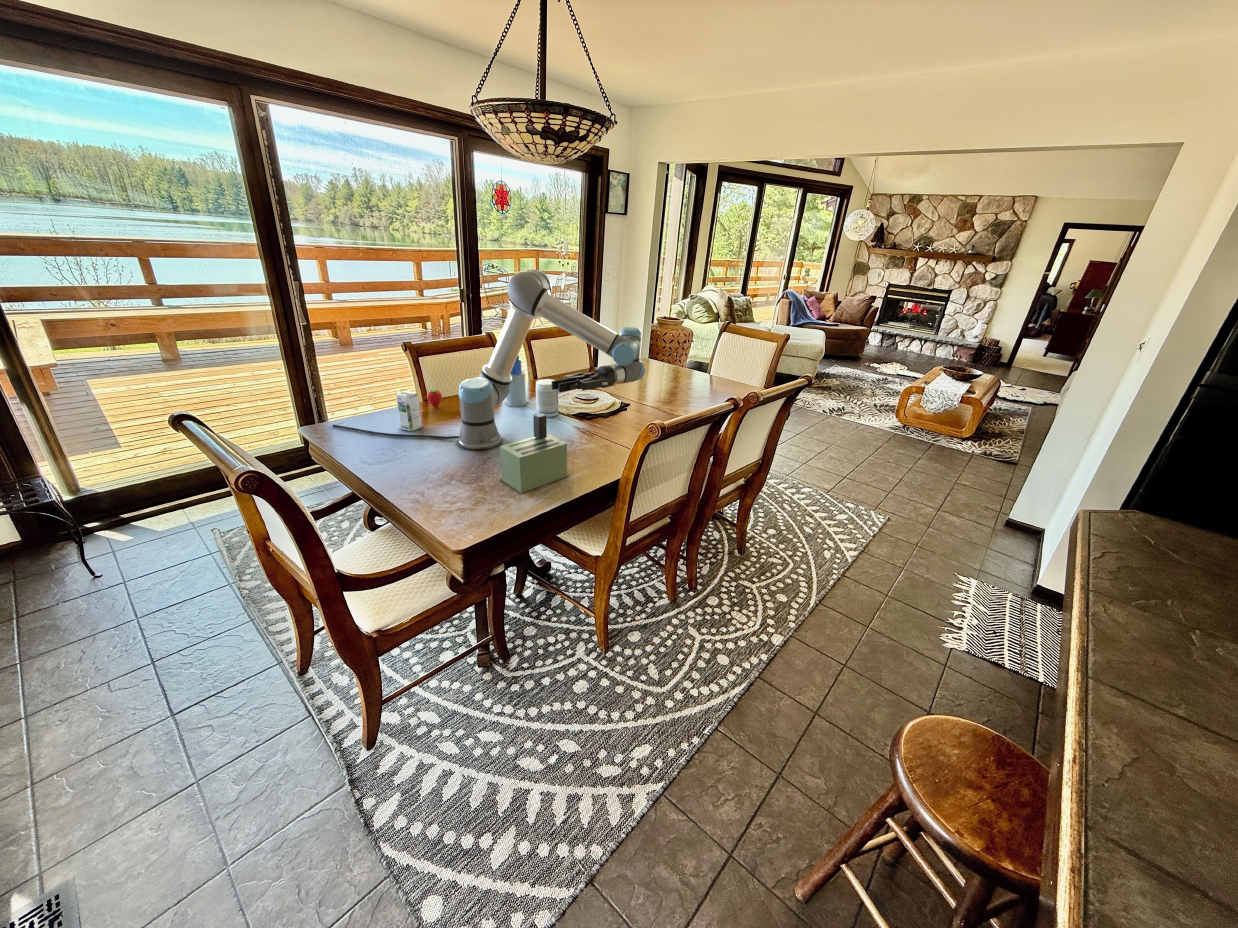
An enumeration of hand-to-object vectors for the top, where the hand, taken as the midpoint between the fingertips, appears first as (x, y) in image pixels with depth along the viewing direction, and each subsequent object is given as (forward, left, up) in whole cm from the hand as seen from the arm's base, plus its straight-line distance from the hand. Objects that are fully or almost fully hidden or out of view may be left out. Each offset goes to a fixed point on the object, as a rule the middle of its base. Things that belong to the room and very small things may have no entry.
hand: (555, 386), depth 154 cm
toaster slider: (-2, -6, -16) cm, 17 cm away
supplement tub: (-30, +43, -28) cm, 60 cm away
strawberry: (-76, +24, -28) cm, 85 cm away
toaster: (-1, -12, -28) cm, 30 cm away
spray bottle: (-50, +48, -28) cm, 75 cm away
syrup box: (-67, +1, -28) cm, 73 cm away
